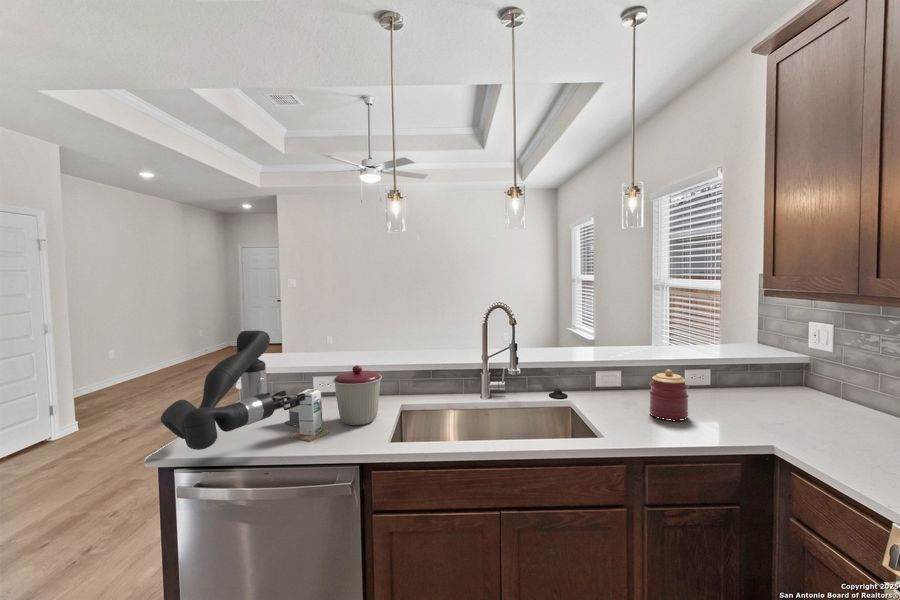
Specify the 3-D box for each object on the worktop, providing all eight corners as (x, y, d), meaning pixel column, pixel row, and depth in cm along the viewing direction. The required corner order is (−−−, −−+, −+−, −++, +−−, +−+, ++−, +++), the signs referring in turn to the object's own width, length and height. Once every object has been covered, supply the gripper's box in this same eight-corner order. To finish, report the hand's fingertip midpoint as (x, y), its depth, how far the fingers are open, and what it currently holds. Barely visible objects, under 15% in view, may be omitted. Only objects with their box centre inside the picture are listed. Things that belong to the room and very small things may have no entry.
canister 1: (327, 429, 154) (325, 371, 153) (341, 413, 172) (339, 361, 171) (378, 429, 153) (376, 370, 152) (387, 413, 171) (385, 360, 170)
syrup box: (314, 436, 147) (312, 393, 146) (298, 434, 148) (297, 393, 147) (323, 430, 152) (321, 389, 151) (307, 429, 154) (306, 388, 153)
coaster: (290, 437, 147) (290, 435, 147) (309, 428, 155) (309, 427, 155) (310, 441, 143) (310, 439, 143) (328, 432, 152) (328, 430, 152)
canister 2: (665, 408, 170) (665, 364, 169) (696, 418, 159) (696, 370, 158) (641, 413, 165) (641, 368, 164) (671, 424, 153) (672, 375, 152)
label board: (285, 424, 161) (284, 397, 160) (291, 421, 164) (290, 395, 163) (311, 428, 155) (310, 401, 155) (318, 425, 158) (317, 398, 158)
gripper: (237, 418, 132) (279, 403, 146) (271, 425, 126) (311, 408, 140) (236, 394, 131) (278, 381, 146) (270, 399, 125) (310, 385, 140)
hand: (294, 394), depth 143 cm, fingers open, 8 cm apart
